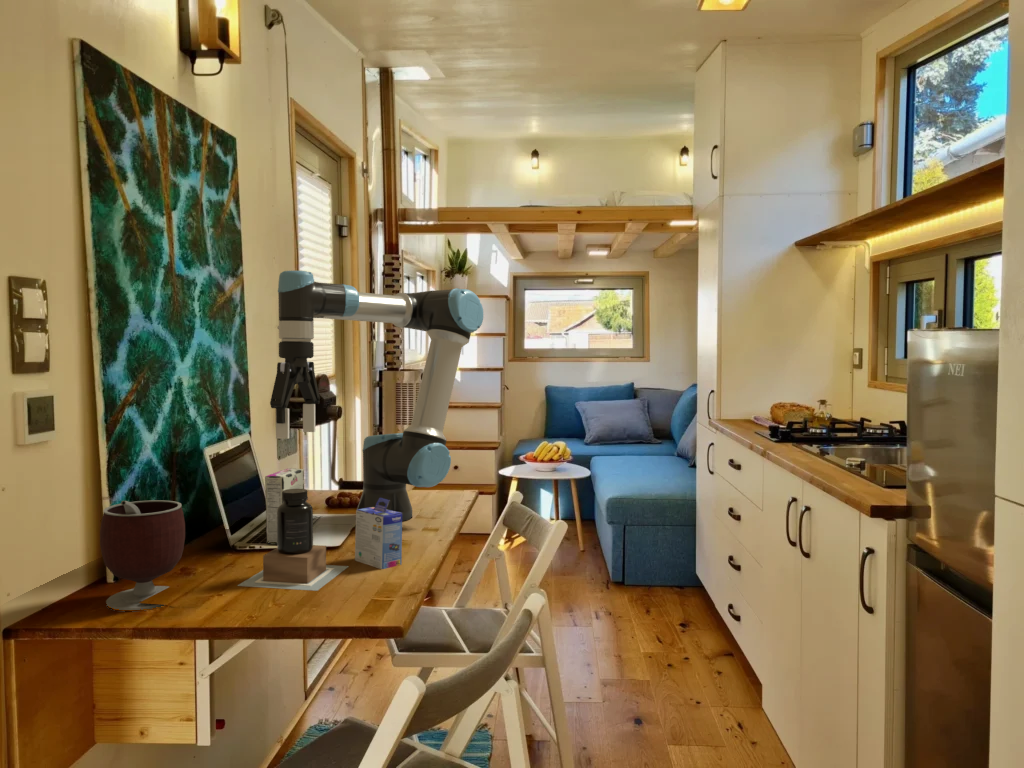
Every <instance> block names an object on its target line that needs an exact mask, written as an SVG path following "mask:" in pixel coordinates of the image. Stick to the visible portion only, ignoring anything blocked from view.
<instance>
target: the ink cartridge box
mask: <svg viewBox="0 0 1024 768" xmlns="http://www.w3.org/2000/svg"><path fill="white" fill-rule="evenodd" d="M380 502H384V503H385V504H386V505H385V506H381V505H379V503H380ZM389 502H390V500H387V499H383V498H379V500H378V501H377V503H376V506H375V507H369V508H363V509H358V510H357V509H356V510H355V538H354V540H355V543H354V545H355V546H354V561H356V562H358V563H362V564H364V565H368V566H370V567H373V568H377V569H380V570H384V569H385V570H386V569H389V568H394V567H398V566H402V563H403V562H402V558H403V557H402V556H403V553H402V552H403V551H402V549H403V521H402V513H401V512H396V511H391V510H387V507H388V504H389Z"/></svg>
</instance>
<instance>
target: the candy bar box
mask: <svg viewBox="0 0 1024 768" xmlns="http://www.w3.org/2000/svg"><path fill="white" fill-rule="evenodd" d="M304 471H305V469H304V468H292V467H291V468H285V469H283V470H280V471H277V472H273V473H271V474H268V475H265V477H264V478H265V479H264V481H265V482H264V483H265V517H266V518H265V522H266V523H265V526H266V527H265V528H266V529H265V530H266V531H265V532H266V542H267V541H269V542H277V509H278V507H279V506H280V505H281V504H283V501H282V491H284V490H287V489H305V479H304V478H305V475H304V474H305V473H304Z"/></svg>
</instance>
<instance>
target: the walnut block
mask: <svg viewBox="0 0 1024 768" xmlns="http://www.w3.org/2000/svg"><path fill="white" fill-rule="evenodd" d="M262 559H263V560H262V563H263V564H262V570H263V581H271V582H287V583H304V584H308V583H309V582H310V581H312V580H313V579H315V578H316V577H317V576H319V575H320V574H322V573H323V572H324V571H326V565H327V545H315V544H313V548H312V550H311V551H309V552H306V553H303V554H295V555H288V554H282V553H280V552H279V551H278V548H277V547H276V548H274V549H272V550H271V551H268V552H267V553H265V554H263V555H262Z"/></svg>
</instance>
